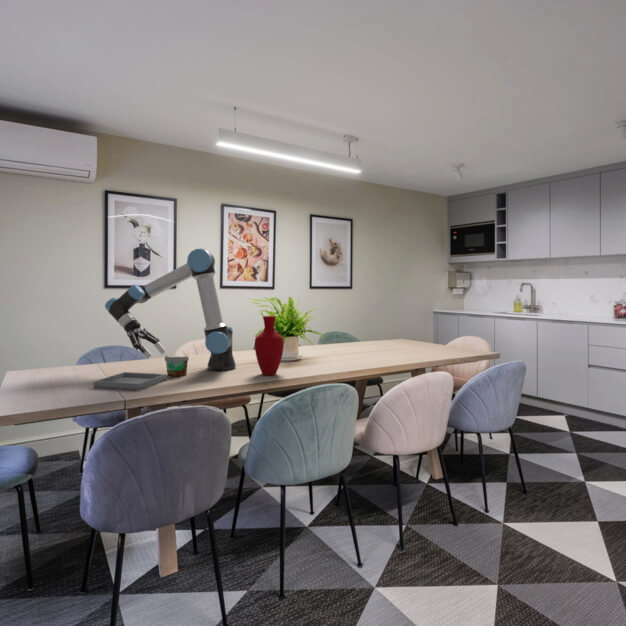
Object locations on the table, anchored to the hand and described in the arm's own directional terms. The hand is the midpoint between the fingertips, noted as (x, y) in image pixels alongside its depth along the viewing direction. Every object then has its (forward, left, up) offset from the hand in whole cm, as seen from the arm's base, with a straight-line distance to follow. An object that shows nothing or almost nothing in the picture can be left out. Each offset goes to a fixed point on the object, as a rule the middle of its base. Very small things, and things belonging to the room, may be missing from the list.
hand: (157, 354), depth 221 cm
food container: (-9, 0, -11) cm, 14 cm away
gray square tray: (+1, +21, -10) cm, 23 cm away
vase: (-53, -16, -11) cm, 57 cm away
